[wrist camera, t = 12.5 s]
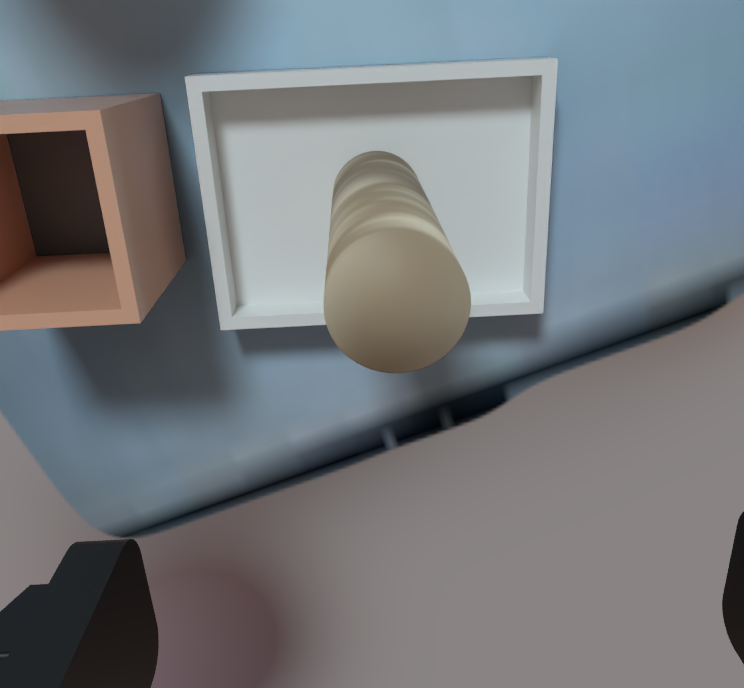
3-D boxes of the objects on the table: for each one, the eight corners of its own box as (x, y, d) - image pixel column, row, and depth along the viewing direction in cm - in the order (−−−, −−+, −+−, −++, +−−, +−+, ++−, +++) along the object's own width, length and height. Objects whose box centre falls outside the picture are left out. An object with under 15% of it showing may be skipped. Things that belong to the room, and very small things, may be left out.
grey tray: (542, 57, 30) (557, 58, 28) (530, 296, 35) (543, 313, 33) (196, 73, 30) (184, 76, 28) (228, 311, 35) (220, 330, 32)
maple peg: (420, 148, 31) (472, 230, 18) (421, 236, 33) (469, 369, 20) (329, 153, 31) (318, 238, 18) (335, 240, 32) (328, 376, 20)
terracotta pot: (159, 92, 30) (99, 110, 23) (186, 260, 33) (140, 323, 26) (-16, 101, 30) (-132, 121, 23) (27, 269, 33) (-64, 333, 26)
